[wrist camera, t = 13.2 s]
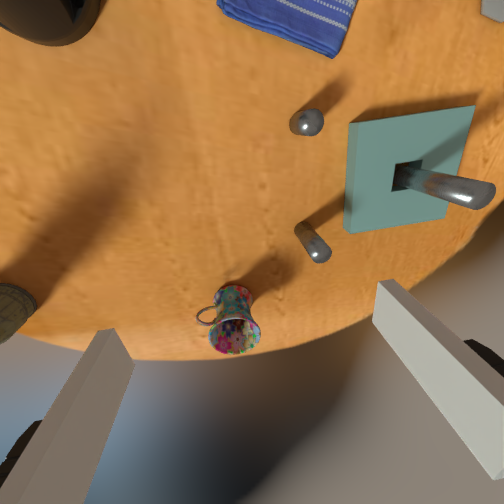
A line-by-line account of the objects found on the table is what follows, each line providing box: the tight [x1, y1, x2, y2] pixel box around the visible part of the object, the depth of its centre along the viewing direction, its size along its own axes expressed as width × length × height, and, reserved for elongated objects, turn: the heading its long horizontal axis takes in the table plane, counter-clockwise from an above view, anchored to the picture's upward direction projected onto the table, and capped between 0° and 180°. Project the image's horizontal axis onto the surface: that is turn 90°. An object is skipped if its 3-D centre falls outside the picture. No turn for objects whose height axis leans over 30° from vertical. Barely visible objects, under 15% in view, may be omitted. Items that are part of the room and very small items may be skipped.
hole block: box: [343, 105, 476, 234], centre depth 40 cm, size 18×18×3 cm
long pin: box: [393, 164, 496, 210], centre depth 35 cm, size 3×3×16 cm
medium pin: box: [294, 222, 332, 263], centre depth 41 cm, size 3×3×10 cm
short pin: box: [289, 109, 324, 136], centre depth 34 cm, size 3×3×6 cm
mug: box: [196, 285, 261, 355], centre depth 46 cm, size 12×9×11 cm
